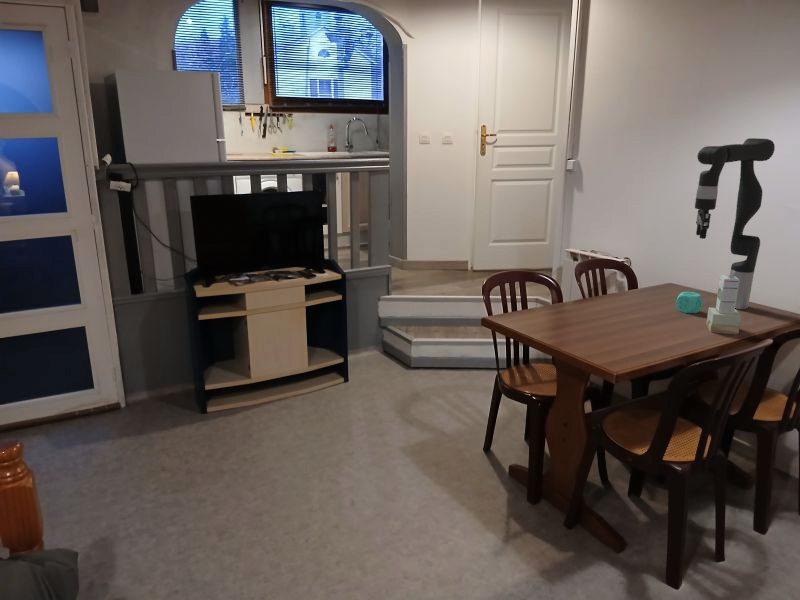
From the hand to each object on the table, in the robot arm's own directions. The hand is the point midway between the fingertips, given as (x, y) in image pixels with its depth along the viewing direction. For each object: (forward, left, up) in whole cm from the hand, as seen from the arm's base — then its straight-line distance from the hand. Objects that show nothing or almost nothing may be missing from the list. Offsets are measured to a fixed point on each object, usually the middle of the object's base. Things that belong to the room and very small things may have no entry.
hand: (700, 236), depth 241 cm
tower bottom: (+10, +11, -36) cm, 39 cm away
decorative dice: (-13, +1, -36) cm, 39 cm away
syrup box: (+11, +11, -28) cm, 32 cm away
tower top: (+11, +11, -32) cm, 36 cm away
